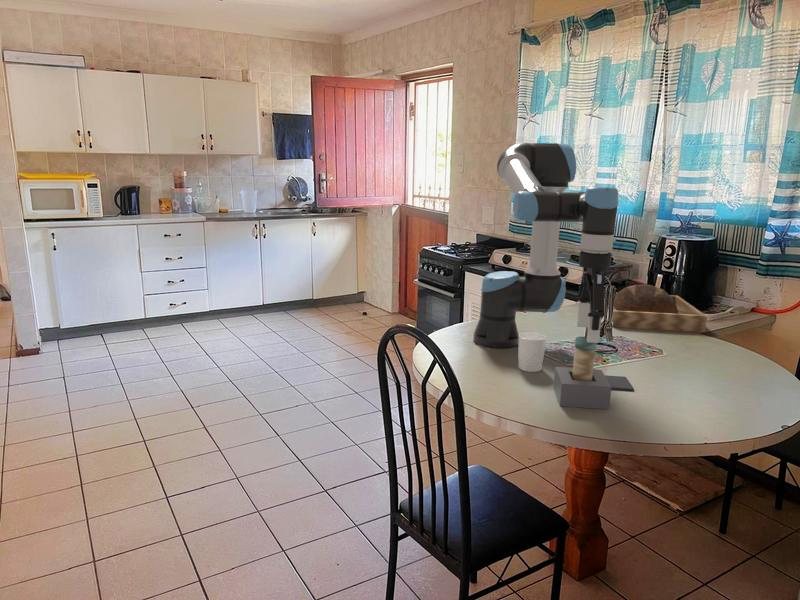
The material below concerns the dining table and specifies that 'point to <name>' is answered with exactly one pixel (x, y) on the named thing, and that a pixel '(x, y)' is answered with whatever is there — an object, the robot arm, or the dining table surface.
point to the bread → (644, 300)
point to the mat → (619, 383)
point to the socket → (581, 389)
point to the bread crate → (663, 318)
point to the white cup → (531, 351)
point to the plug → (583, 359)
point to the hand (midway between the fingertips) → (587, 334)
